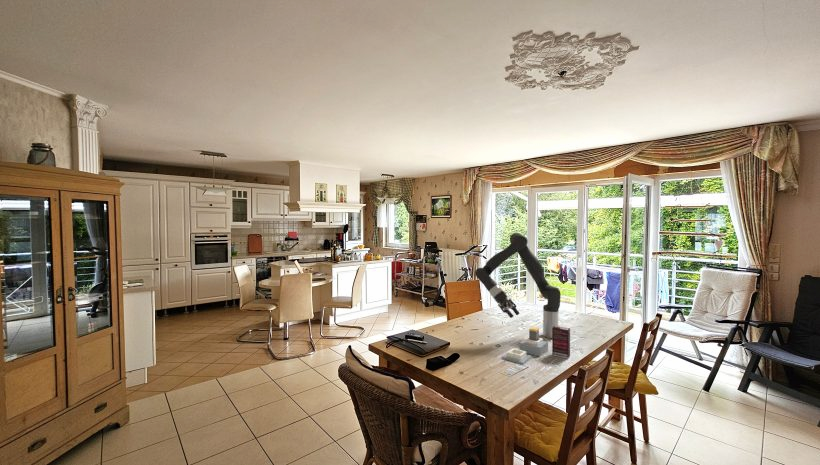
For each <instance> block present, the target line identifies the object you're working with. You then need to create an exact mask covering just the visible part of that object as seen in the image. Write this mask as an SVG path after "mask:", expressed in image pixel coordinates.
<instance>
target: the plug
mask: <svg viewBox="0 0 820 465" xmlns="http://www.w3.org/2000/svg"><path fill="white" fill-rule="evenodd" d="M539 334H540V328H537V327H533V326H531V327H530V328H529V330H528V335H529V336H528V337H529V339H530V340H534V341H538V340H539V338H540V337H539V336H540V335H539Z"/></svg>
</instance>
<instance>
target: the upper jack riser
mask: <svg viewBox="0 0 820 465" xmlns="http://www.w3.org/2000/svg"><path fill="white" fill-rule="evenodd" d="M519 350H522V351H526V354H528V355H529V354H530V355H533V356H537V357H542V356H543V355H544V354H546V353H547V352H548V351H549V342H548V341H546V340H544V339H543V338H541V337H539V340H538V341H534V340H530V339H529V336H527V337H526V338H525V339H523V340H521V341H520V342H519Z"/></svg>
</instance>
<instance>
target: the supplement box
mask: <svg viewBox="0 0 820 465" xmlns="http://www.w3.org/2000/svg"><path fill="white" fill-rule="evenodd" d="M551 342H552V345H551V348H552V349H551V353H552V356H553V357H558V358H563V359H569V358H570V356H571V328H570V327H565V326H559V325H558V326H553V327H552V338H551Z"/></svg>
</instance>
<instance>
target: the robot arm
mask: <svg viewBox="0 0 820 465" xmlns="http://www.w3.org/2000/svg"><path fill="white" fill-rule="evenodd" d="M528 242H529V241H528V238H527V237H526V236H525V235H523V234H521V233H519V232H515V233H514V232H513V233H512V234H511V235H510V237H509V243H510V244H509V245H508V246H507V247H506V248H504V249H503V250H501V251H499V252H498V253H496V254H494V255H493V256H492V257H490V259H488V260H487V261H486V263H485V265H484V266H483V267H478V268H476V270H475V273H474V274H475V277H476V278H477V279H478V280H479V281H480V282H481V284H482V285H483V286H484V287H485V288H486V290H487V291H488V292H489V295H490V296H492V299H493V300H495V302H496V303H497V304H498V305H497V306H498V308H500V310H501V311H502V313H504V314H507V316H508V317H509V318H510V319H512V318H514V314H515V315H516V316H518V315H519V314H520V312H519V310H518V309H517V305H516V304H515V303H514V301H513V300H512V299H510V298H509V299H508V295H507V294H506V292H505V291H504V290H503V289H502V288H501V287H500V286H499V285H498V283H497V282H496V281H495V280H494V279H493V278H492V277H491V276H490V275H491V274H492V273H493V272H494V271H495V270H496V269H497V268H499V267H500V266H501V265H502V264H503V263H505V261H507V260H508V259H509V258H511V257H512V256H513V255H515V254H518V255H519V257H520V259H521V260H522V262H523V263H522V264H524V267H525V269H526V270H527V272H528V274H529V275H530V276H531V278H532V280H533V281H534V282H535V284H536V286H537V288H538V290H539V293H540V295H541V296H542V297H543V298H544V299H545V300H547V304H544V305H543V307H542V308H543V309H542V313H543V319H542V337H544V338H547V339H552V327H553V326H559V309H560V307H561V297H562V296H561V290H560V289H559V288H558V287H557V286H553V285H550V284H549V282H548V281H547V279H546V278H545V277H546V276H545V270H544V267H543V265H542V263H541V261H540V260H539V259H538V258H537V256H536V255H535V254H534V253H533V251H531V249H530V248H529V246H528ZM510 309H511V310H512V311H513V313H514V314H513V313H512V312H511V311H510Z"/></svg>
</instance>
